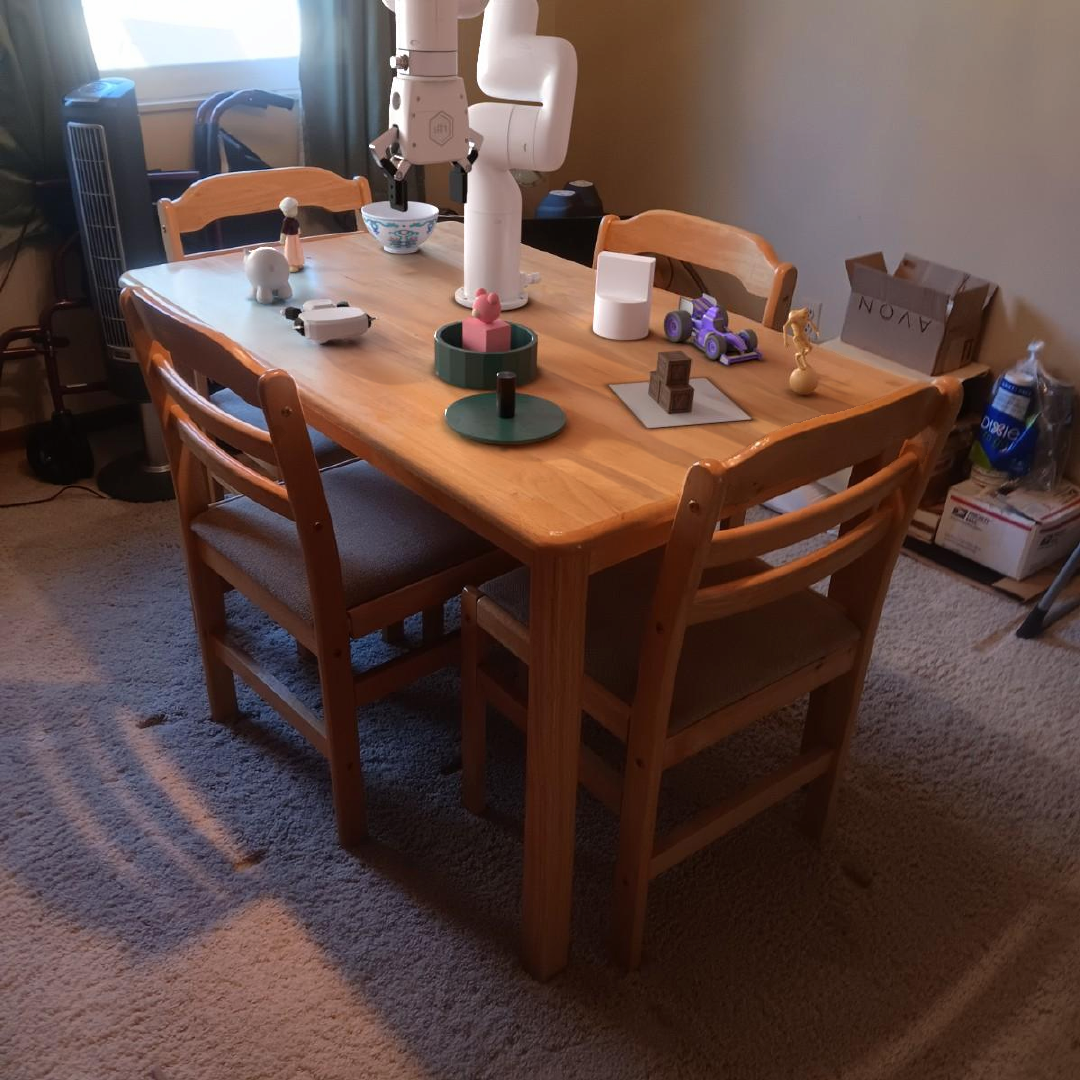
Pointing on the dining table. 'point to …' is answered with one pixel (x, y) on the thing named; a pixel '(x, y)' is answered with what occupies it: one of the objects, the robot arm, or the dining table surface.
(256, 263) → the toy rhinoceros
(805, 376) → the figurine
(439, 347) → the pot
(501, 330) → the pink bear head stamp
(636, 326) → the cylinder with rectangular tab
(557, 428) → the pot lid
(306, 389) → the dining table surface
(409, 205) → the chinaware
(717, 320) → the toy race car
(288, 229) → the grandmother figurine
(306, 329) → the robot toy
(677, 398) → the stack of crates
